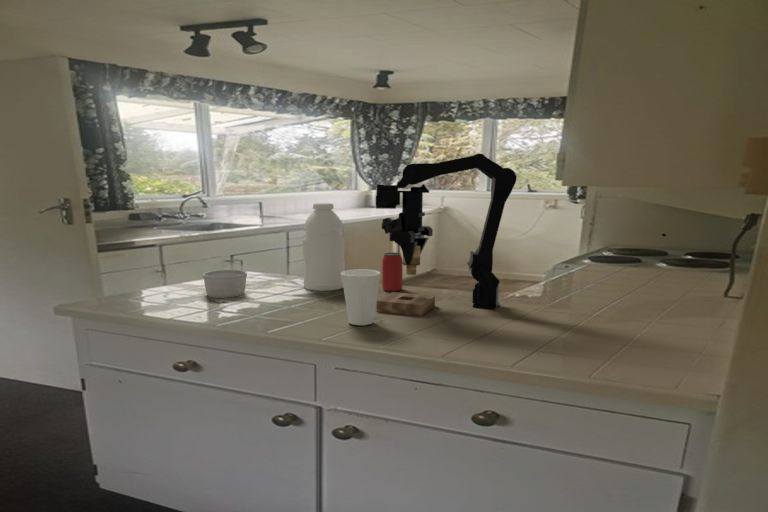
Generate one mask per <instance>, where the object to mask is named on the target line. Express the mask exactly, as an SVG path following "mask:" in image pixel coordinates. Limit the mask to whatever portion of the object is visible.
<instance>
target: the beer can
mask: <svg viewBox="0 0 768 512" xmlns="http://www.w3.org/2000/svg"><path fill="white" fill-rule="evenodd" d="M402 263H403V256H402V254H401V253H400V252H384V253H383V257H382V263H381V265H382V269H381V270H382V271H381V273H382V274H381V275H382V277H381V279H382V283H381V284H382V285H381V287H382V290H383V291H385V292H390V293H392V292H400V291H402V290H403V266H404V265H403V264H402Z"/></svg>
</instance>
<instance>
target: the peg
mask: <svg viewBox="0 0 768 512" xmlns="http://www.w3.org/2000/svg"><path fill="white" fill-rule="evenodd" d="M402 260H403V263H402V264H403V266H406V269H405V270H406V271H405V272H406V275H407V276H408V275H409V276H414V275H417V267H418V266H420V265H421V254H420V246H417V245H416V248H415V251H414V255H413V258H412V261H411V264H410V265H406V263H405V259H404V256H403V255H402Z"/></svg>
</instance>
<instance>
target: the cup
mask: <svg viewBox="0 0 768 512" xmlns="http://www.w3.org/2000/svg"><path fill="white" fill-rule="evenodd" d="M381 273H382V272H380V271H379V270H376V269H366V268H360V269H359V268H357V269H347V270H345V271H343V272H341V278H342V282H343V288H342V289H343V292H344V293H343V294H344V301H345V305H346V312H347V319H348V323H349V324H351V325H354V326H368V325H371V324H373V323H374V321H375V315H376V309H377V300H378V293H379V288H380V287H379V286H380V282H381V278H382V277H381V275H382V274H381Z"/></svg>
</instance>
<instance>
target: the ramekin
mask: <svg viewBox="0 0 768 512" xmlns="http://www.w3.org/2000/svg"><path fill="white" fill-rule="evenodd" d="M247 273H248V272H247V271H246V270H242V269H241V270H240V269H219V270H218V269H216V270H210V271H206V272H204V273H203V274H202V278H203V281H204V288H205V292H206V294H207V296H208V297H209V298H213V299H228V298H227V297H232V298H235V297H234V296H237V297H240V296H239V295H241V296H243V294H244V293H245V290H246V284H247V277H248V274H247Z"/></svg>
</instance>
